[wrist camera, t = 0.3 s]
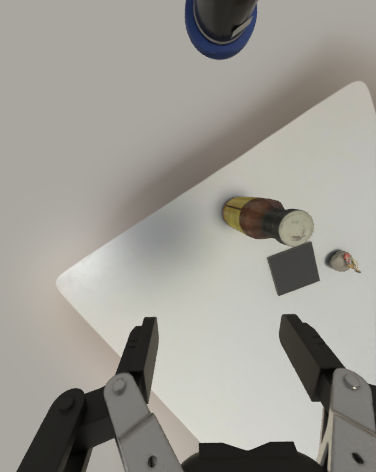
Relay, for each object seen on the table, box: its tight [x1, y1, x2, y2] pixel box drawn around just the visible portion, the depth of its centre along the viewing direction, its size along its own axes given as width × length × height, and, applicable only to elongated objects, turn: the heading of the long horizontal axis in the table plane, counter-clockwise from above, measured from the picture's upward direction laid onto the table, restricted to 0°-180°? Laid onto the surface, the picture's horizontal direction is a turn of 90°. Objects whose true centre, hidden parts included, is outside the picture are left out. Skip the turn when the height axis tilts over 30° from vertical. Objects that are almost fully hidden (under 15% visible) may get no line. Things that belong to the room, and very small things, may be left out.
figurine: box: [329, 251, 361, 273], centre depth 41 cm, size 5×4×6 cm
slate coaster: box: [267, 242, 320, 296], centre depth 44 cm, size 10×10×1 cm
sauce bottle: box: [223, 197, 314, 247], centre depth 30 cm, size 7×6×20 cm
